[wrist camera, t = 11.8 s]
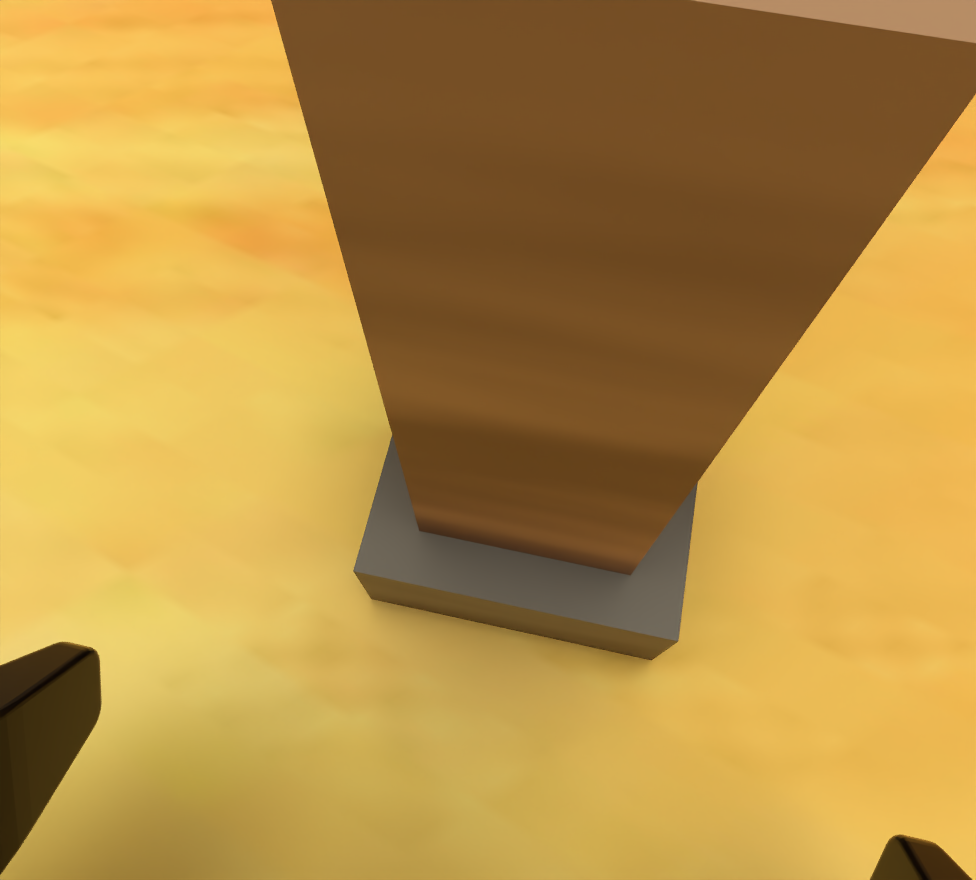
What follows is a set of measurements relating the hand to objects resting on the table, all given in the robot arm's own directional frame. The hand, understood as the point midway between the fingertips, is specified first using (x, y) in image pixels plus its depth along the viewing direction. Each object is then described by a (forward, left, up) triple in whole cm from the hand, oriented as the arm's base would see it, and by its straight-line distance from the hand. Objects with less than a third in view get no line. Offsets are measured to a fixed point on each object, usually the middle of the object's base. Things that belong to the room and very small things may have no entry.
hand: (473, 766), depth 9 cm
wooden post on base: (+4, +4, -7) cm, 9 cm away
